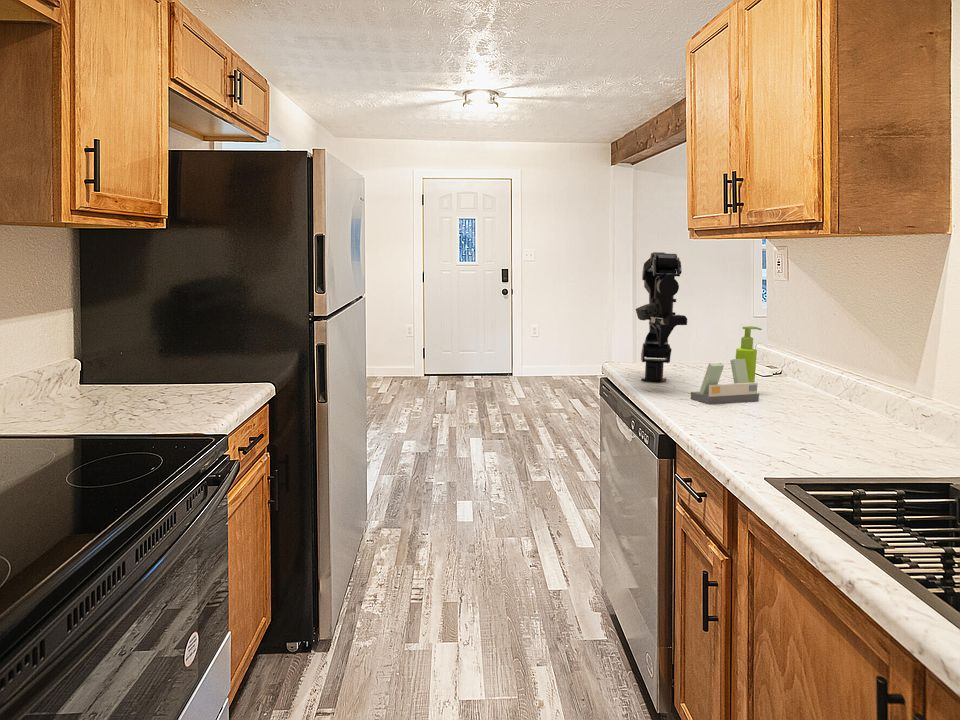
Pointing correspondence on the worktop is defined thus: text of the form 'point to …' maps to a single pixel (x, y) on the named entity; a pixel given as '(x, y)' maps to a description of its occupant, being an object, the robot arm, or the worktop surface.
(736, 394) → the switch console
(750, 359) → the soap dispenser
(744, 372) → the hold switch
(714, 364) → the flip switch
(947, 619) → the worktop surface
